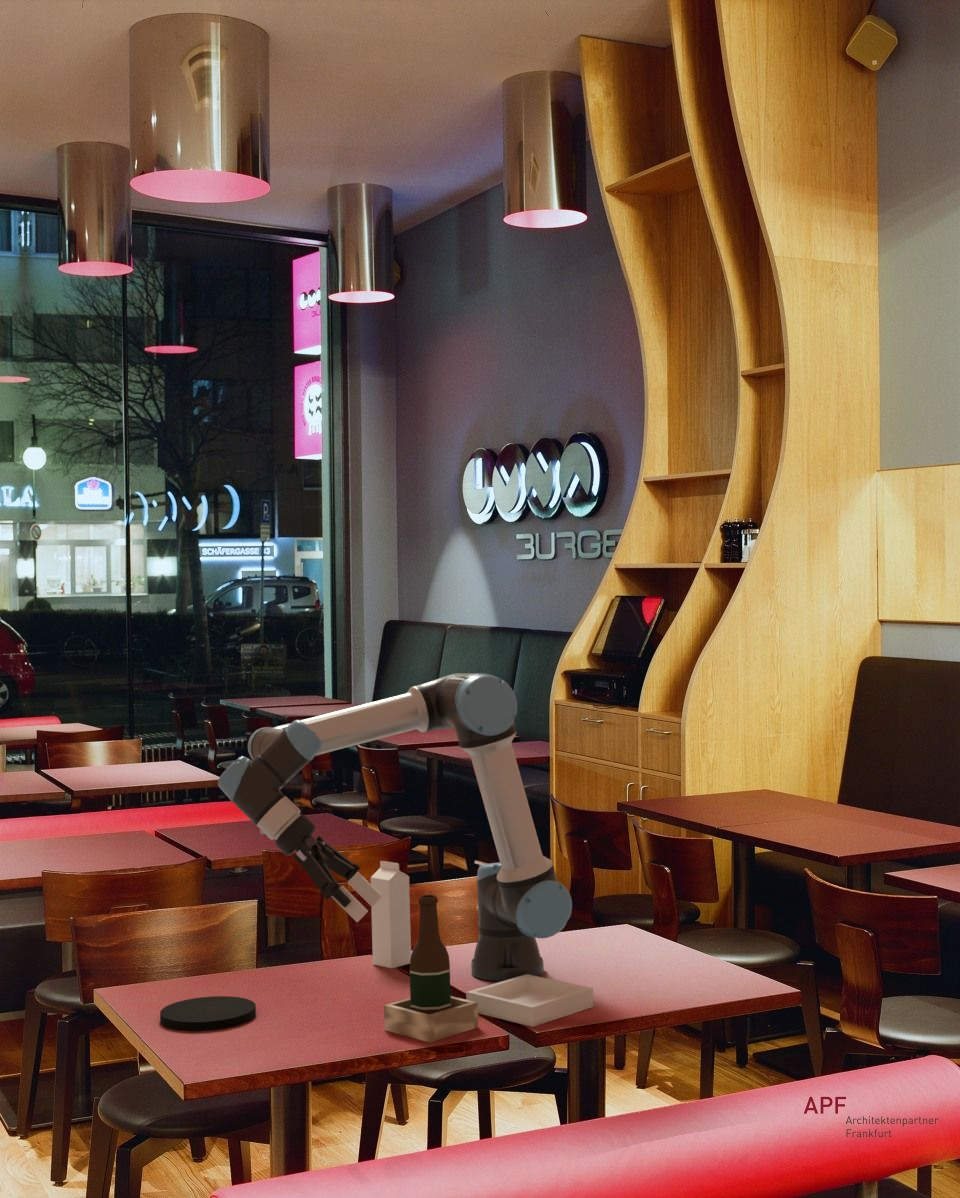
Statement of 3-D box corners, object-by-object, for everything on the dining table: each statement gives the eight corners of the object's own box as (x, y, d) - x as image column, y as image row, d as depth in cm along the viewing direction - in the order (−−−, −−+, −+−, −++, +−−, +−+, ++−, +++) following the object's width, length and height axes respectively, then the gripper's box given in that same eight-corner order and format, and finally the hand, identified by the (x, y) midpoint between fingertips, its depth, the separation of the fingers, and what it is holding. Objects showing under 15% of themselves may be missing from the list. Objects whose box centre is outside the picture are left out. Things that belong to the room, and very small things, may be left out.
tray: (466, 1010, 266) (466, 991, 266) (527, 991, 278) (527, 974, 278) (532, 1026, 254) (532, 1007, 254) (593, 1006, 266) (592, 988, 266)
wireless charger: (162, 1037, 255) (162, 1026, 255) (158, 1011, 272) (157, 1001, 272) (261, 1027, 260) (260, 1016, 260) (250, 1002, 277) (250, 992, 277)
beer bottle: (402, 1033, 253) (399, 899, 253) (420, 1021, 260) (417, 891, 260) (442, 1036, 250) (438, 901, 250) (459, 1024, 257) (456, 893, 257)
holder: (384, 1030, 255) (384, 1005, 255) (432, 1015, 263) (432, 991, 263) (430, 1042, 246) (429, 1016, 246) (478, 1027, 255) (477, 1002, 255)
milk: (392, 959, 308) (390, 858, 309) (411, 963, 304) (409, 861, 305) (372, 964, 304) (369, 862, 304) (391, 968, 300) (388, 865, 300)
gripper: (290, 831, 271) (369, 909, 269) (255, 853, 246) (341, 939, 244) (317, 803, 270) (396, 881, 268) (284, 822, 246) (371, 908, 244)
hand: (370, 909), depth 256 cm, fingers open, 13 cm apart
